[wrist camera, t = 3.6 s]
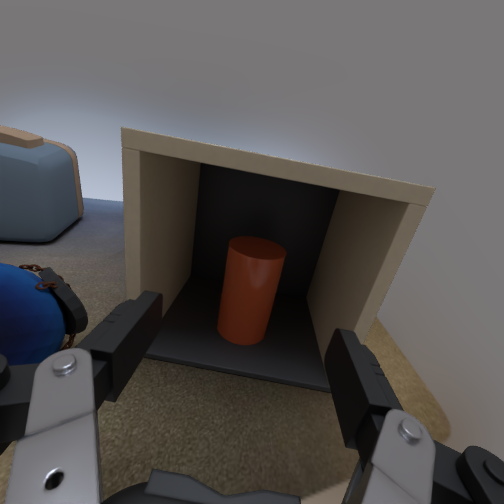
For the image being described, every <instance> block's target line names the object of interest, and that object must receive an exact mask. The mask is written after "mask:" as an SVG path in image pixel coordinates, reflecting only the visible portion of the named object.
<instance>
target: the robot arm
mask: <svg viewBox="0 0 504 504" xmlns="http://www.w3.org/2000/svg"><path fill="white" fill-rule="evenodd" d="M162 309H163V294H162V293H157V292H152V291H147V290H145V291H143V292H142V293H141V294H140V296H139V297H138V298H137V299H136V300H133V299H129V300H127V301H125V302H123V303H121V304H119V305H118V306H117V307H116V308H115V309H114V310H113V311H112V312H111V313H110V315H108V316H107V317H106V318H105V319H104V320H103V321H102V322H101V323H99V324H98V325H97V326H96V327H95V328H94V329H93V330H92V331H91V332H90V333H89V334H88V335H87V336H86V337H85V338H84V339H83V340H82V341H81V342H80V343H79V344H78V345H77V346H76V347H75V348H71V349H66V350H62V351H59V352H57V353H55V354H53V355H51V356H49V357H48V358H46V359H45V360H44V361H43V362H42V363H37V364H24V365H12V366H9V365H8V362H7V359H6V357H5V356H4V355H2V354H0V455H1V454H2V453H3V452H4V451H5V450H6V448H7V447H8V446H9V445H10V444H11V442H12V441H16V440H18V441H17V443H16V446H15V450H14V454H13V460H12V465H11V470H10V476H9V481H8V486H7V491H6V497H5V502H4V504H301V500H300V496H295V495H290V494H284V493H279V492H274V491H269V490H259V491H253V492H247V493H241V494H235V495H227V496H226V495H222V494H220V493H219V492H217V491H215V490H213V489H212V488H210V487H208V486H206V485H205V484H203V483H201V482H200V481H198V480H196V479H194V478H193V477H191V476H189V475H184V474H179V473H174V472H168V471H163V470H158V469H152V472H151V475H150V477H149V480H148V482H143V483H139V484H136V485H132V486H130V487H128V488H125V489H123V490H121V491H119V492H117V493H116V494H114V495H112V496H110V497H109V498H107V499H106V500H105V501H104V496H103V483H102V471H101V458H100V443H99V429H98V414H97V410H98V409H99V407H100V406H101V404H102V403H103V402H104V400H106V401H111V402H116V400H117V398H118V397H119V395H120V394H121V392H122V390H123V389H124V387H125V386H126V384H127V383H128V381H129V379H130V378H131V376H132V375H133V373H134V371H135V370H136V368H137V367H138V365H139V363H140V362H141V360H142V359H143V357H144V355H145V354H146V352H147V351H148V349H149V347H150V346H151V344H152V343H153V341H154V339H155V338H156V336H157V335H158V333H159V330H160V327H161V324H162ZM324 367H325V371H326V375H327V378H328V382H329V386H330V390H331V394H332V397H333V401H334V405H335V409H336V413H337V416H338V420H339V424H340V428H341V432H342V435H343V439H344V443H345V447H346V448H351V449H356V450H358V453H359V456H360V458H359V460H358V462H357V464H356V467H355V469H354V472H353V475H352V477H351V480H350V482H349V485H348V488H347V491H346V493H345V496H344V498H343V501H342V503H341V504H504V462H503V461H502V460H501V459H499V458H498V457H497V456H495V455H494V454H492V453H490V452H489V451H487V450H485V449H483V448H481V447H478V446H469V447H467V448H466V449H465V450H464V452H463V453H462V454H461V453H459V452H457V451H455V450H453V449H451V448H449V447H447V446H445V445H443V444H441V443H439V442H437V441H435V440H433V438H432V436H431V434H430V433H429V431H428V430H427V429H426V428H425V426H424V425H423V424H422V423H421V422H420V421H418V420H417V419H416V418H415V417H413V416H412V415H410V414H408V413H406V412H404V410H403V408H402V406H401V404H400V403H399V401H398V399H397V397H396V395H395V393H394V391H393V389H392V387H391V386H390V384H389V382H388V380H387V378H386V377H385V374H384V372H383V370H382V369H381V368H380V365H379V363H378V361H377V359H376V357H375V355H374V354H373V353H372V352H371V351H370V350H369V349H368V348H367V347H366V346H365V345H362V344H361V343H360V341H359V339H358V337H357V335H356V333H355V332H354V331H350V330H345V329H340V328H336V329H335V330H334V332H333V335H332V337H331V340H330V342H329V345H328V347H327V350H326V353H325V357H324Z"/></svg>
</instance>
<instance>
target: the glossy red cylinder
mask: <svg viewBox="0 0 504 504" xmlns="http://www.w3.org/2000/svg"><path fill="white" fill-rule="evenodd" d="M286 254H287V253H286V250H285V249H284V248H283V247H282V246H280V245H279V244H277V243H275V242H273V241H270V240H267V239H263V238H259V237H251V236H240V237H235V238H232V239H231V240H230V241H229V244H228V251H227V257H226V264H225V270H224V277H223V284H222V290H221V297H220V304H219V310H218V317H217V324H216V325H217V330H218V332H219V333H220V335H221V336H222V337H223V338H225V339H226V340H228V341H229V342H232V343H234V344H238V345H252V344H256V343H258V342H260V341H261V340H262V339H263V338H264V337H265V335H266V332H267V328H268V324H269V320H270V317H271V313H272V309H273V305H274V301H275V297H276V293H277V289H278V285H279V281H280V278H281V274H282V270H283V266H284V262H285V258H286Z"/></svg>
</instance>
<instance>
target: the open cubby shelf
mask: <svg viewBox="0 0 504 504" xmlns="http://www.w3.org/2000/svg"><path fill="white" fill-rule="evenodd" d="M121 141H122V147H123V148H122V170H123V204H124V236H125V269H126V301H127V300H129V299H133V300H136V299H137V298H138V297H139V296H140V294H141V293H142V292H143V291H145V290H147V291H152V292H157V293H162V294H163V309H162V324H161V327H160V330H159V333H158V335H157V336H156V338H155V339H154V341H153V343H152V344H151V346H150V347H149V349H148V351H147V352H146V354H145V355H144V357H147V358H152V359H157V360H162V361H168V362H173V363H178V364H183V365H189V366H194V367H199V368H204V369H210V370H215V371H220V372H225V373H231V374H236V375H241V376H246V377H252V378H257V379H262V380H267V381H272V382H278V383H283V384H288V385H293V386H299V387H304V388H309V389H314V390H320V391H325V392H330V393H331V390H330V386H329V382H328V378H327V375H326V371H325V367H324V357H325V353H326V350H327V347H328V345H329V342H330V340H331V337H332V335H333V332H334V330H335V329H336V328H340V329H345V330H350V331H354V332H355V333H356V335H357V337H358V339H359V341H360V343H361V344H362V345H363V343H364V341H365V338H366V336H367V334H368V332H369V330H370V328H371V326H372V324H373V321H374V319H375V317H376V315H377V313H378V311H379V308H380V306H381V304H382V302H383V300H384V298H385V296H386V294H387V291H388V289H389V287H390V285H391V283H392V281H393V279H394V276H395V274H396V272H397V270H398V268H399V266H400V264H401V262H402V259H403V257H404V255H405V253H406V251H407V249H408V247H409V244H410V242H411V240H412V238H413V236H414V234H415V232H416V229H417V227H418V225H419V223H420V221H421V219H422V216H423V214H424V212H425V210H426V208H427V207H426V206H428V204H429V202H430V200H431V198H432V195H433V193H434V191H435V189H436V188H435V187H429V186H424V185H419V184H414V183H409V182H404V181H399V180H394V179H388V178H383V177H378V176H373V175H368V174H363V173H358V172H352V171H347V170H342V169H337V168H332V167H327V166H321V165H316V164H311V163H306V162H301V161H296V160H291V159H286V158H280V157H275V156H270V155H265V154H260V153H255V152H250V151H245V150H239V149H234V148H229V147H224V146H219V145H213V144H208V143H203V142H198V141H193V140H188V139H183V138H177V137H172V136H167V135H162V134H157V133H152V132H147V131H141V130H136V129H132V128H126V127H121ZM240 236H251V237H259V238H263V239H267V240H270V241H273V242H275V243H277V244H279V245H280V246H282V247H283V248H284V249H285V250H286V253H287V254H286V258H285V262H284V266H283V270H282V274H281V278H280V281H279V285H278V289H277V293H276V297H275V301H274V305H273V309H272V313H271V317H270V320H269V324H268V328H267V332H266V335H265V337H264V338H263V339H262V340H261V341H260V342H258V343H256V344H252V345H238V344H234V343H232V342H229V341H228V340H226V339H225V338H223V337H222V336H221V335H220V333H219V332H218V330H217V325H216V324H217V317H218V310H219V304H220V297H221V290H222V284H223V277H224V270H225V264H226V257H227V251H228V244H229V241H230V240H231V239H232V238H235V237H240Z"/></svg>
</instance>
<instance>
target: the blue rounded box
mask: <svg viewBox="0 0 504 504" xmlns="http://www.w3.org/2000/svg"><path fill="white" fill-rule="evenodd" d="M83 210H84V207H83V200H82V192H81V184H80V176H79V170H78V161H77V156H76V153H75V152H74V151H73V150H72V149H71V148H70V147H69V146H66V145H65V144H62V143H59V142H55V141H51V140H47V139H44V138H42V137H41V136H38V135H35V134H32V133H28V132H26V131H22V130H18V129H15V128H10V127H5V126H1V125H0V240H3V241H23V242H47V241H51V240H53V239H54V238H55V237H56V236H58V235H59V234H60V233H61V232H62V231H64V230H65V229H66V228H67V227H68V226H70V225H71V224H72V223H73V222H74V221H76V220H77V219H78V218H79V217H80V216H82V215H83Z"/></svg>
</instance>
